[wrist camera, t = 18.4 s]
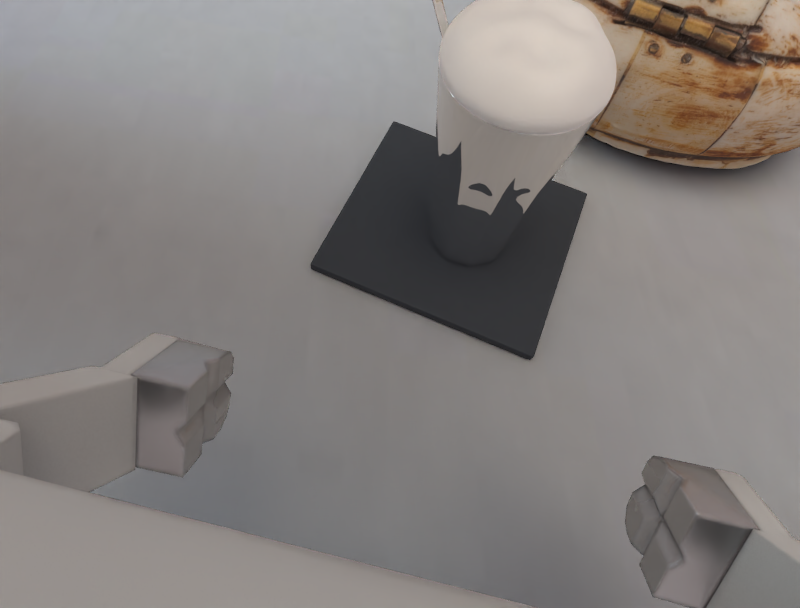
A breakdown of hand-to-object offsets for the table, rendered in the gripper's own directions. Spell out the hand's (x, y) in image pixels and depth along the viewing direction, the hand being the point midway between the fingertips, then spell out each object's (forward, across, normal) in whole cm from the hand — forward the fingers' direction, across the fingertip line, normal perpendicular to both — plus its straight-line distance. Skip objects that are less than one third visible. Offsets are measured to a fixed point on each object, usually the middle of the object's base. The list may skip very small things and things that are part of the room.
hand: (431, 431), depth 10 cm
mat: (+12, 0, -2) cm, 12 cm away
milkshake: (+12, 0, -2) cm, 12 cm away
